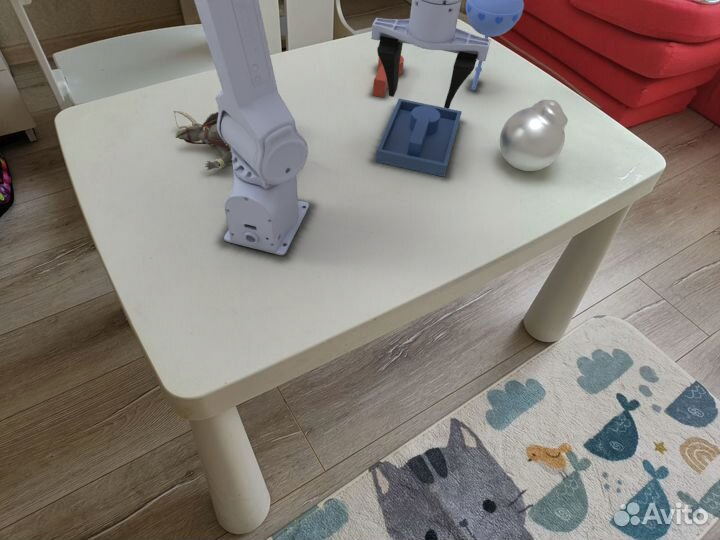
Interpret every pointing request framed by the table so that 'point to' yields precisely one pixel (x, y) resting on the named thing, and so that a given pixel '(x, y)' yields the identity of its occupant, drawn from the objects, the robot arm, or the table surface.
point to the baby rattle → (492, 20)
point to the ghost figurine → (534, 136)
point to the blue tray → (434, 146)
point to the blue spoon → (422, 127)
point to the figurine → (206, 137)
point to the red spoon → (383, 79)
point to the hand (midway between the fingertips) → (420, 98)
